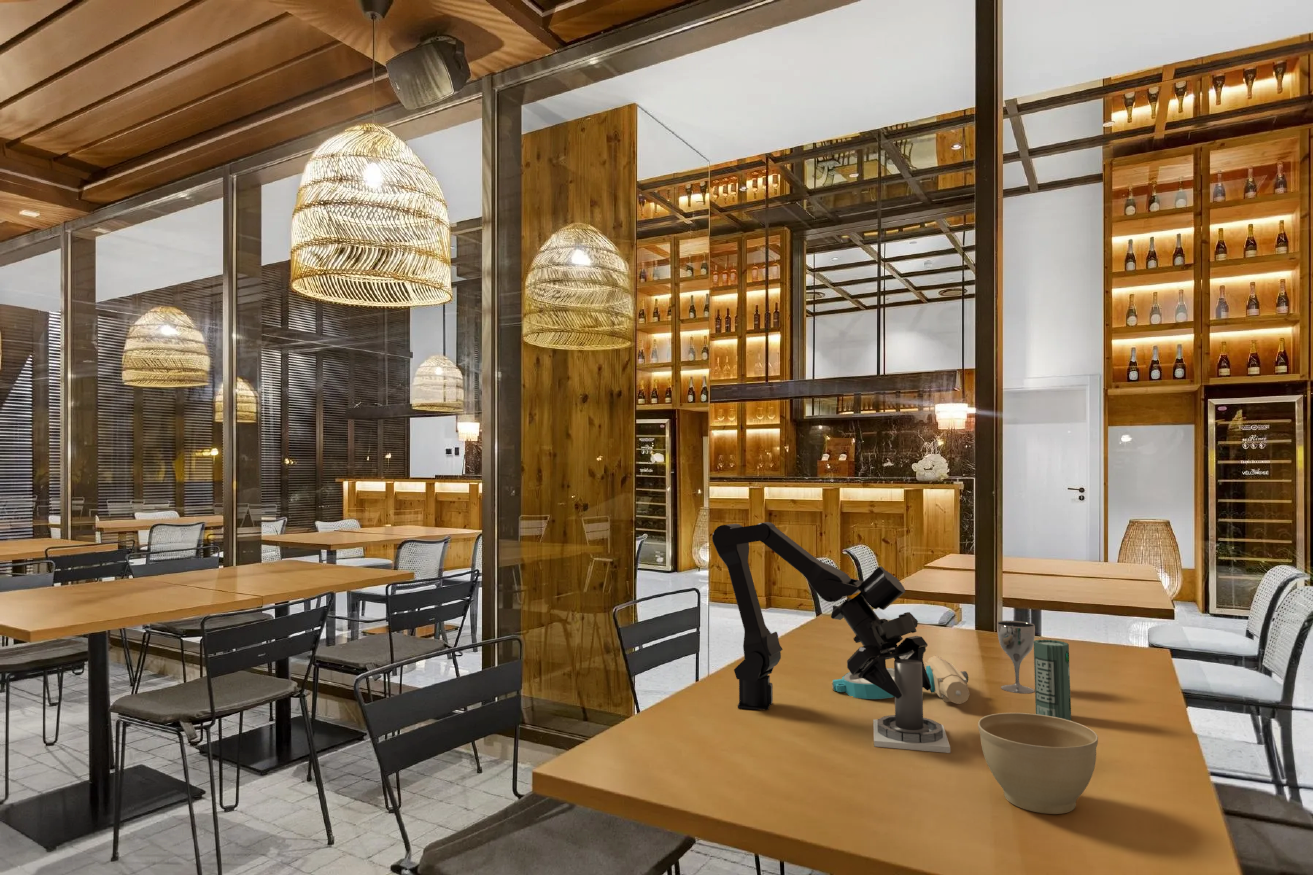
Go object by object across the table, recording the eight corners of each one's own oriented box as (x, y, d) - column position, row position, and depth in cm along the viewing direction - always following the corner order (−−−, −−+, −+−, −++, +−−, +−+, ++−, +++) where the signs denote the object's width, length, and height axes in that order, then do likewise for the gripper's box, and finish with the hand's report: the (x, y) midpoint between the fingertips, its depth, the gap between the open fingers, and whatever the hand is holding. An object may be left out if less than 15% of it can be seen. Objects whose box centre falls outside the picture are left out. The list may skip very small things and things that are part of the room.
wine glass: (999, 691, 174) (997, 625, 174) (998, 683, 181) (996, 619, 182) (1038, 695, 171) (1036, 627, 172) (1035, 686, 178) (1033, 621, 179)
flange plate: (874, 746, 138) (873, 732, 138) (873, 724, 150) (873, 711, 150) (950, 752, 134) (950, 738, 134) (943, 729, 147) (942, 716, 147)
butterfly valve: (837, 720, 162) (984, 712, 156) (832, 687, 162) (980, 678, 157) (832, 687, 188) (958, 679, 183) (828, 659, 189) (954, 650, 183)
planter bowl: (996, 773, 125) (995, 705, 126) (1109, 798, 115) (1107, 725, 115) (965, 804, 113) (963, 730, 113) (1088, 837, 102) (1085, 754, 103)
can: (1076, 718, 154) (1074, 643, 155) (1059, 723, 151) (1056, 646, 152) (1047, 710, 159) (1045, 638, 160) (1030, 715, 156) (1028, 641, 157)
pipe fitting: (890, 736, 140) (889, 664, 141) (889, 725, 147) (888, 656, 147) (930, 739, 138) (929, 667, 139) (927, 728, 145) (926, 659, 146)
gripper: (858, 603, 141) (910, 675, 132) (918, 594, 152) (970, 660, 143) (826, 639, 147) (874, 711, 138) (885, 628, 158) (934, 694, 149)
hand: (915, 693), depth 142 cm, fingers open, 9 cm apart
